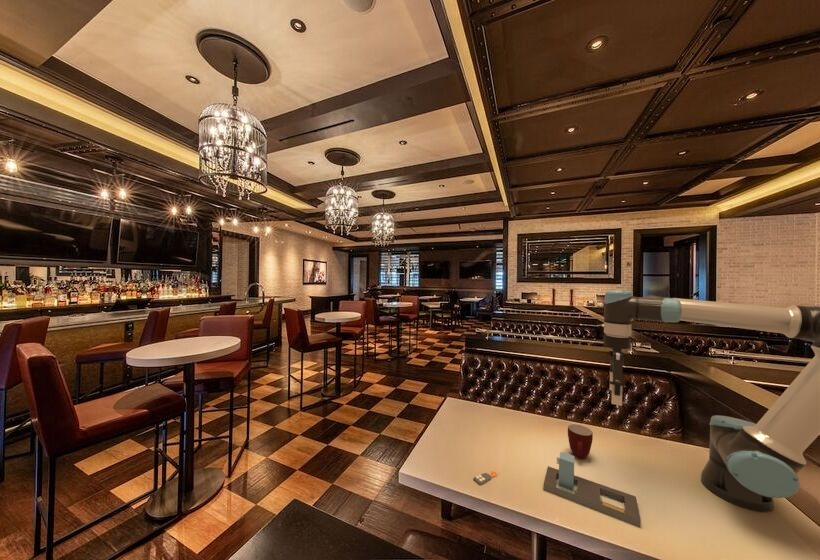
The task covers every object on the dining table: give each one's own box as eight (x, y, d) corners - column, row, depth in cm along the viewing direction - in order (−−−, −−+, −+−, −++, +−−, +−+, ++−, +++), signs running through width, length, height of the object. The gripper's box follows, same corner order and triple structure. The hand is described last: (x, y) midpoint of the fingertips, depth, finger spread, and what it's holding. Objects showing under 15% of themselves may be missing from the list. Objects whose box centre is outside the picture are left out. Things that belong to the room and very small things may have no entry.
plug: (573, 486, 91) (574, 456, 91) (573, 494, 88) (573, 462, 88) (557, 480, 94) (557, 450, 94) (555, 488, 90) (556, 457, 90)
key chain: (480, 488, 91) (480, 483, 91) (472, 480, 94) (472, 476, 94) (507, 474, 97) (508, 469, 97) (499, 467, 100) (499, 463, 100)
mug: (595, 469, 100) (596, 441, 99) (569, 463, 103) (570, 435, 103) (589, 452, 109) (590, 427, 109) (566, 447, 112) (566, 422, 112)
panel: (635, 503, 85) (636, 495, 85) (640, 527, 77) (640, 519, 76) (547, 471, 98) (547, 465, 98) (543, 489, 90) (543, 482, 90)
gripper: (602, 328, 109) (601, 383, 109) (604, 340, 88) (603, 408, 89) (627, 331, 105) (625, 387, 105) (635, 343, 84) (633, 414, 84)
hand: (615, 397), depth 97 cm, fingers open, 13 cm apart
